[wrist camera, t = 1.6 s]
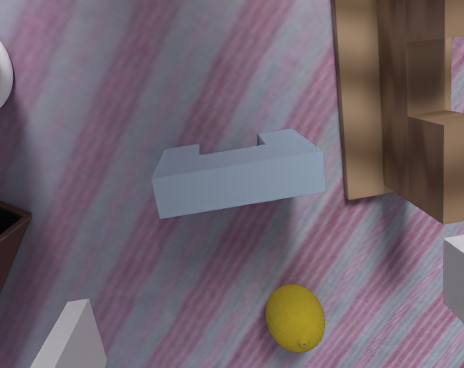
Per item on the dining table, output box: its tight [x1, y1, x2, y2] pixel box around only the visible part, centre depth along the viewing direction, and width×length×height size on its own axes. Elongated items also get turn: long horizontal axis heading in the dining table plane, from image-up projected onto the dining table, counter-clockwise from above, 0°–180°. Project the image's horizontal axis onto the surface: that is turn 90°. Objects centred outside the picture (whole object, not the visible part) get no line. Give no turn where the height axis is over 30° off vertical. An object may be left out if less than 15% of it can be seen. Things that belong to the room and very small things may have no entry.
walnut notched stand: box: [331, 0, 464, 225], centre depth 31 cm, size 22×10×11 cm, turn 9°
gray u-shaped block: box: [151, 128, 326, 219], centre depth 33 cm, size 12×3×10 cm, turn 99°
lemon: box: [265, 284, 325, 353], centre depth 39 cm, size 6×6×8 cm
